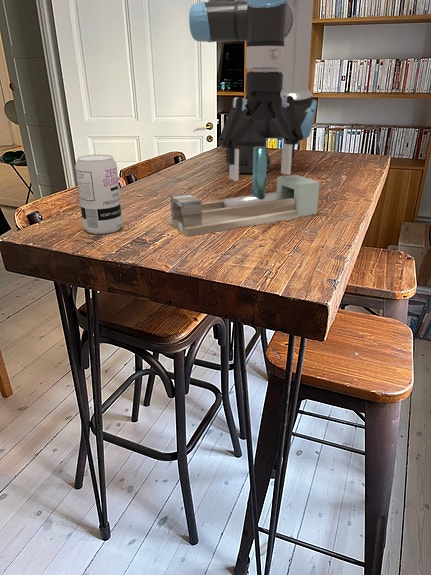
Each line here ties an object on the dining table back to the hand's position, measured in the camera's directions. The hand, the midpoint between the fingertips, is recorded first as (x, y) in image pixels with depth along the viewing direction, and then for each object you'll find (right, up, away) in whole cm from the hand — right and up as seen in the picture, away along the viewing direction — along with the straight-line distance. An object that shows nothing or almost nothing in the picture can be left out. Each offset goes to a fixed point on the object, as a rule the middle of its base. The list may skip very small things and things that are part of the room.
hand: (260, 176), depth 100 cm
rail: (-6, -10, +1) cm, 11 cm away
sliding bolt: (+1, -6, +4) cm, 7 cm away
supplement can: (-34, -12, -3) cm, 36 cm away
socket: (+10, -6, +8) cm, 14 cm away
